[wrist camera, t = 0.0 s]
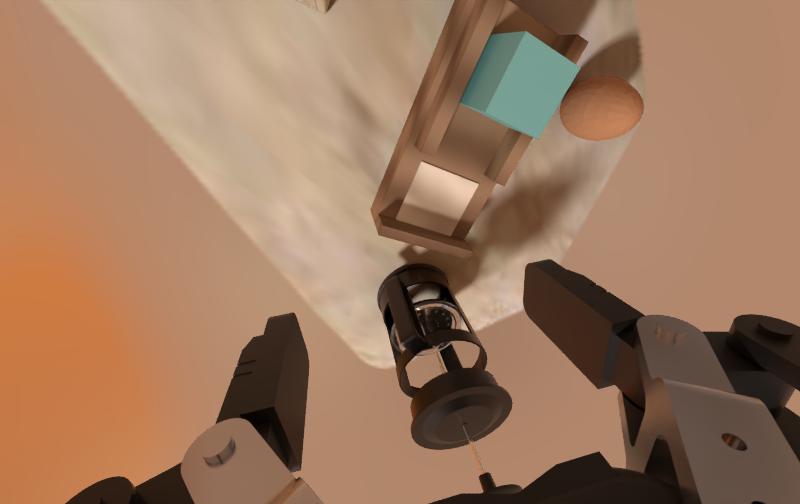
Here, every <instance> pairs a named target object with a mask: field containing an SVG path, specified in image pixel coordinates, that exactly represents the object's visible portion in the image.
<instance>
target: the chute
mask: <svg viewBox="0 0 800 504" xmlns="http://www.w3.org/2000/svg"><path fill="white" fill-rule="evenodd" d="M522 31H527V32H528V33H530V34H531V35H533V36H534V37H536V38H537V39H539V40H540V41H542V42H543V43H544V44H546V45H547V46H549V47H550V48H552V49H553V50H555V51H556V52H558V53H559V54H561V55H562V56H564V57H565V58H567V59H568V60H570V61H571V62H573V63H574V64H576V63H577V61H578V60H579V58H580V56H581V54H582V53H583V51H584V49H585V48H586V46H587V44H588V42H587V41H586V40H585V39H583V38H582V37H581V36H579V35H578V34H577V35H562V36H559V35H557V34H556V33H555V32H553V31H552V30H550V29H549V28H547V27H546V26H545V25H543V24H542V23H540V22H539V21H538V20H536V19H535V18H533V17H532V16H530V15H529V14H528V13H526V12H525V11H523V10H522V9H520V8H519V7H518V6H516V5H515V4H513V3H512V2H511V1H509V0H455V1H454V4H453V6H452V9H451V11H450V13H449V16H448V18H447V21H446V23H445V26H444V28H443V31H442V33H441V36H440V38H439V41H438V43H437V46H436V48H435V51H434V53H433V56H432V58H431V61H430V63H429V66H428V68H427V71H426V73H425V76H424V78H423V81H422V83H421V86H420V88H419V90H418V93H417V95H416V98H415V100H414V103H413V105H412V108H411V110H410V113H409V115H408V118H407V120H406V123H405V125H404V128H403V130H402V133H401V135H400V138H399V140H398V143H397V145H396V148H395V150H394V153H393V155H392V158H391V160H390V163H389V165H388V168H387V170H386V172H385V175H384V177H383V180H382V182H381V185H380V187H379V190H378V192H377V195H376V197H375V200H374V202H373V205H372V207H371V213H372V216H373V219H374V222H375V225H376V228H377V231H378V234H379V235H380V236H384V237H387V238H391V239H395V240H398V241H402V242H405V243H409V244H413V245H416V246H420V247H424V248H427V249H431V250H434V251H438V252H442V253H445V254H449V255H453V256H456V257H460V258H464V259H467V260H469V259H470V257H471V255H472V254H473V251H472V249H471V248H470V247H469V245H468V244H467V243H466V242H465V240H464V239H465V237H466V235H467V234H468V232H469V230H470V228H471V227H472V225H473V223H474V221H475V220H476V218H477V216H478V214H479V213H480V211H481V209H482V207H483V206H484V204H485V202H486V200H487V199H488V197H489V195H490V193H491V192H492V190H493V188H494V186H495V185H496V183H498V184H500V185H503V186H505V184H506V182H507V181H508V179H509V177H510V176H511V174H512V172H513V170H514V169H515V167H516V165H517V164H518V162H519V160H520V159H521V157H522V155H523V153H524V152H525V150H526V148H527V147H528V145H529V143H530V141H531V140H532V138H533V137H532V136H529V135H527V134H524V133H522V132H519V131H516V130H514V129H511V128H509V127H506V126H504V125H502V124H500V123H498V122H496V121H494V120H492V119H490V118H488V117H486V116H484V115H482V114H480V113H478V112H476V111H474V110H472V109H470V108H468V107H466V106H464V105H462V104H460V103H459V101H460V99H461V97H462V95H463V92H464V90H465V88H466V86H467V84H468V82H469V79H470V77H471V75H472V73H473V71H474V69H475V66H476V64H477V62H478V60H479V58H480V56H481V53H482V51H483V49H484V47H485V45H486V43H487V40H488V38H489V36H490V35H492V34H502V33H512V32H522Z"/></svg>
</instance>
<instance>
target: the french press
mask: <svg viewBox="0 0 800 504" xmlns="http://www.w3.org/2000/svg"><path fill="white" fill-rule="evenodd" d="M419 283H436V284H438V285H439V289H440V292H439V296H438V299H428V300H423V301H419V302H416V303H414V304H413V302H412V300H411V297H410V294H409V292H408V289H407V287H409V286H412V285H415V284H419ZM377 301H378V306H379V308H380V310H381V312H382V315H383V319H384V323H385V325H386V327H387V330H388V335H389V339H390V343H391V347H392V351H393V355H394V359H395V363H396V372H397V377H398V381H399V385H400V387H401V389H402V391H403V392H404V393H405V394H406V395H408V396H409V397H411V398H413V400H412V402H411V412H412V417H413V421H412V424H411V434H412V438H413V439H414V441H415V442H416V443H417V444H418V445H420V446H422V447H424V448H428V449H436V450H443V449H452V448H457V447H460V446H464V445H467V444H470V446H471V448H472V451H473V454H474V456H475V459H476V461H477V464H478V467H479V469H480V472H481V474H482V475H480V476H479V480H480V483H481V486H482V489H483V493H481V494H513V493H518V492H520V491H521V490H522V488H521V487H520V486H518V485H514V484H510V485H503V486H499V487H496V485H495V483H494V481H493V479H492V476H491V474H490V473H486V472H485V469H484V467H483V464H482V462H481V459H480V457H479V454H478V452H477V449H476V446H475V444H474V442H475V441H477V440H479V439H481V438H483V437H485V436H486V435H488V434H490V433H491V432H493V431H494V430H495V429H496V428H498V427H499V426H500V425H501V424H502V423H503V422H504V420H505V419H506V418H507V417H508V415H509V413H510V411H511V409H512V399H511V397H510V395H509V393H508V392H507V391H506V390H505V389H504V388H502V387H500V386H498V384H497V382H496V380H495V378H494V377H493V375H492V374H490V373H489V372H488V371H485V370H484V369H485V367H486V364H487V355H486V352H485V350H484V348H483V346H482V345H481V343H480V341H479V339H478V337H477V336H476V334H475V332H474V330H473V328H472V327H471V325H470V323H469V321H468V319H467V318H466V316H465V314H464V312H463V310H462V309H461V307H460V305H459V303H458V301H457V300H456V298H455V296H454V294H453V292H452V291H451V289H450V287H449V283H448V280H447V278H446V276H445V275H444V273H442V272H441V271H440V270H439V269H437V268H436V267H434V266H431V265H427V264H412V265H408V266H405V267H402V268H399V269H398V270H396V271H394V272H393V273H391V274H390V275H389V276H388V277H387V278H386V279H385V280H384V281H383V283H382V285H381V286H380V288H379V291H378V297H377ZM389 305H390V306H389ZM463 320H464V322H465V324H466V326H467V328H468V330H469V331H470V332H468V331H465V330H461V329H462V326H463ZM453 341H467V342H471V343H473V344H476V345H477V346H479V347H480V354H479V357H478V360H477V361H476V363H475V365H474V366H473V367H472V368H463V367H462V365H461V363H460V361H459V358H458V356H457V354H456V352H455V350H454V348H453V345H452V342H453ZM438 351H440V354H441V356H442V359H443V361H444V364H445V366H446V369H447V371H448V372H446V371H445V369H444V366H443V363H442V361H441V358H440V356H439V354H438ZM401 353H402V354H401ZM433 353H435V355H436V358H437V360H438V362H439V365H440V368H441V371H442V373H443V374H441V375H439V376H437V377H435V378H433V379H432V380H430V381H429V382H427V383H426V384H425V385H424V386H423V387H421V388H416V387H413V386H410V383H409V380H408V376H407V372H406V369H405V367H406V365H407V364H408V363H409V362H410V361H411V360H412V359H413V358H414V357H415V356H423V355H429V354H433Z"/></svg>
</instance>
